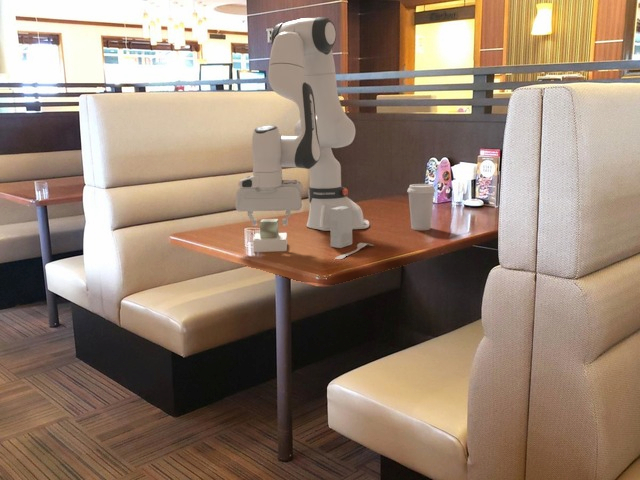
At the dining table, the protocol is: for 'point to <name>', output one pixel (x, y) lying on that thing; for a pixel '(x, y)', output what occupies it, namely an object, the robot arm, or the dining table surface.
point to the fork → (353, 251)
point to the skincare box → (341, 226)
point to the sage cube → (269, 228)
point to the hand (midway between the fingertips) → (269, 225)
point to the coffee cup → (421, 205)
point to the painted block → (270, 243)
